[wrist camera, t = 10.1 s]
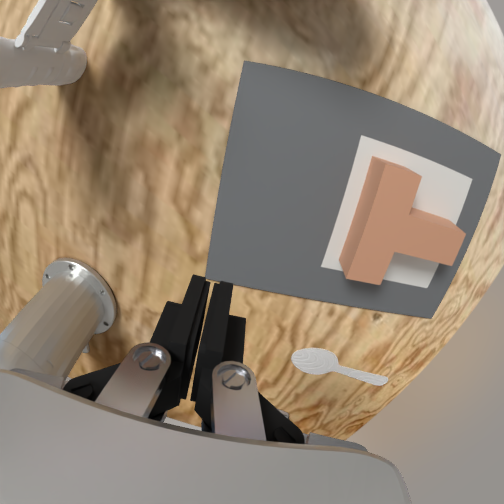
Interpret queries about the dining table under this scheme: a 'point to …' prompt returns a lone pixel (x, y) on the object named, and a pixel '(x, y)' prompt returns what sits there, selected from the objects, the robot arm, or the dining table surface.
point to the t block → (394, 225)
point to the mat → (334, 189)
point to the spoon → (330, 365)
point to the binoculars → (46, 46)
